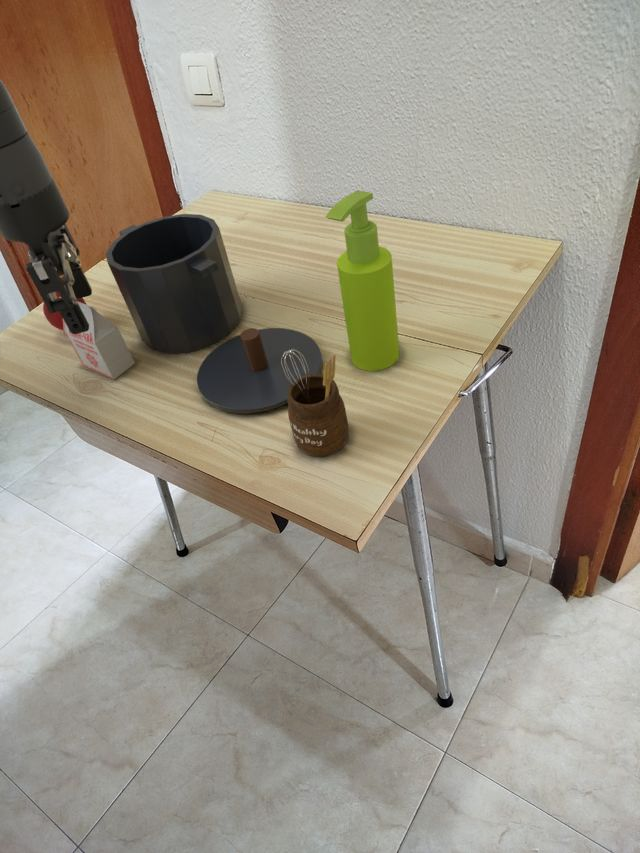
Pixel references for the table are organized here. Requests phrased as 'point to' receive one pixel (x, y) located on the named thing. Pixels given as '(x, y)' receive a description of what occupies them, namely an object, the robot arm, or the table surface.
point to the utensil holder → (317, 412)
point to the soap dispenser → (366, 287)
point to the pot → (176, 282)
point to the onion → (57, 314)
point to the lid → (256, 369)
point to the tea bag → (100, 345)
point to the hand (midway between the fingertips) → (83, 312)
